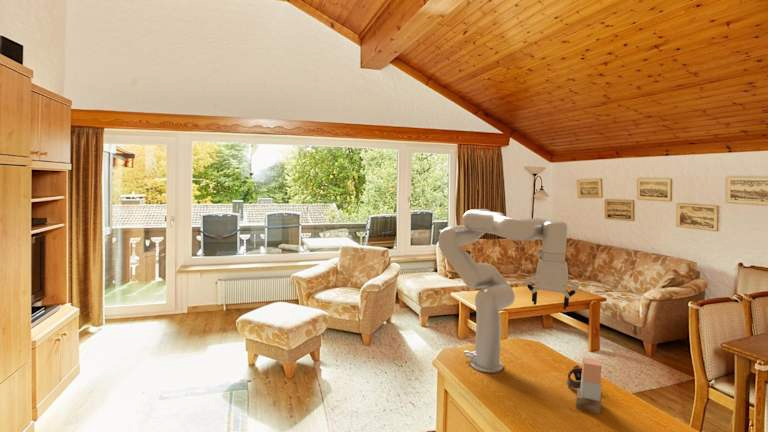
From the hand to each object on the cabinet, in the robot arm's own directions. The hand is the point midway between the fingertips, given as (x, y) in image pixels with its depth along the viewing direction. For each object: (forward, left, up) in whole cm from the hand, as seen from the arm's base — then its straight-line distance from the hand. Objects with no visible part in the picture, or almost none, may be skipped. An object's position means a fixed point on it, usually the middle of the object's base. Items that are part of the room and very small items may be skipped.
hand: (549, 306), depth 144 cm
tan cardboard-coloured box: (+14, -4, -31) cm, 34 cm away
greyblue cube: (+14, -4, -27) cm, 30 cm away
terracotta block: (+14, -4, -21) cm, 26 cm away
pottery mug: (+12, +9, -31) cm, 34 cm away
